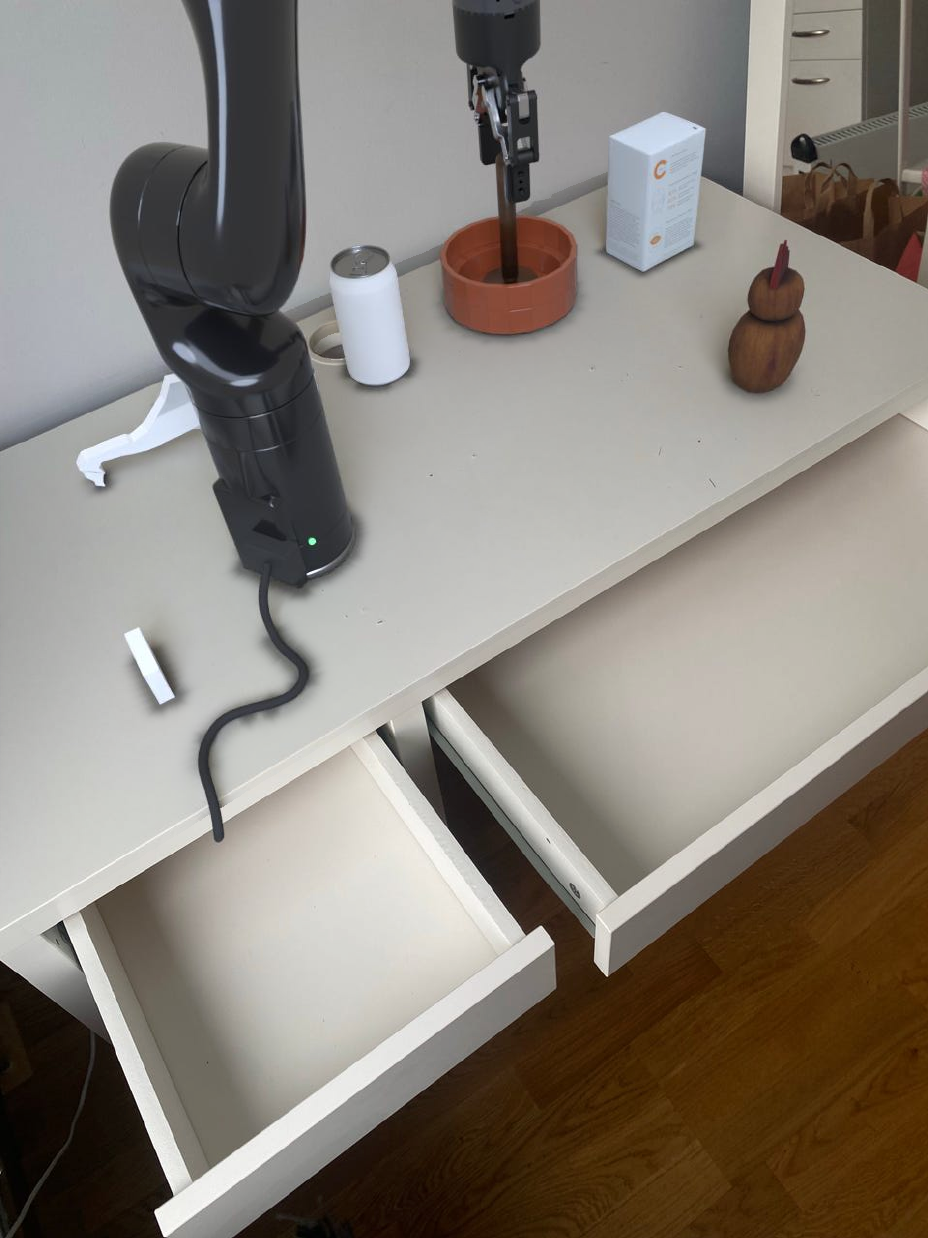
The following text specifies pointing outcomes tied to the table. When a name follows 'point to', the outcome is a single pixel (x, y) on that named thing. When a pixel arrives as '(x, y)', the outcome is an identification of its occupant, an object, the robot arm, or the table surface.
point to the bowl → (509, 304)
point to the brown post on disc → (507, 237)
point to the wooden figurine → (769, 328)
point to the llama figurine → (145, 430)
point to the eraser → (149, 665)
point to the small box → (653, 189)
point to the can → (369, 314)
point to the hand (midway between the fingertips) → (504, 181)
